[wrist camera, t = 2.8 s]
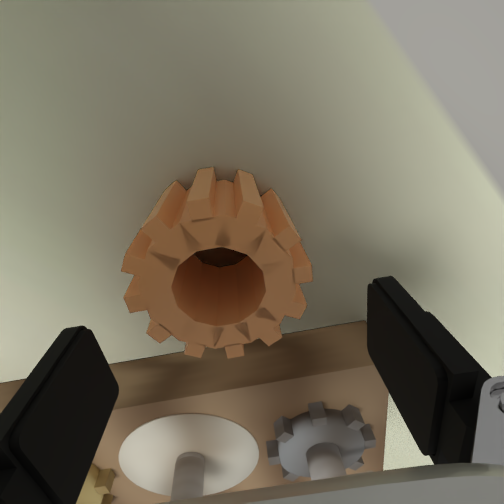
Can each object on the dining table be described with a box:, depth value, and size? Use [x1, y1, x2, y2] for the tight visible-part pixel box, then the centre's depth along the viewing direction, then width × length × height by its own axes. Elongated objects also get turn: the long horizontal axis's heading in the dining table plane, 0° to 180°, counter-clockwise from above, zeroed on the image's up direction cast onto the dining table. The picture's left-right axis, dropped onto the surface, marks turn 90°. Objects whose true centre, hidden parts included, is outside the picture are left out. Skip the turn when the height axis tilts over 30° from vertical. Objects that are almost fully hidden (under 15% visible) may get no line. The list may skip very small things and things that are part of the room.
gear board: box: [0, 321, 389, 504], centre depth 18 cm, size 27×11×10 cm, turn 99°
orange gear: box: [121, 167, 313, 359], centre depth 14 cm, size 7×7×5 cm
